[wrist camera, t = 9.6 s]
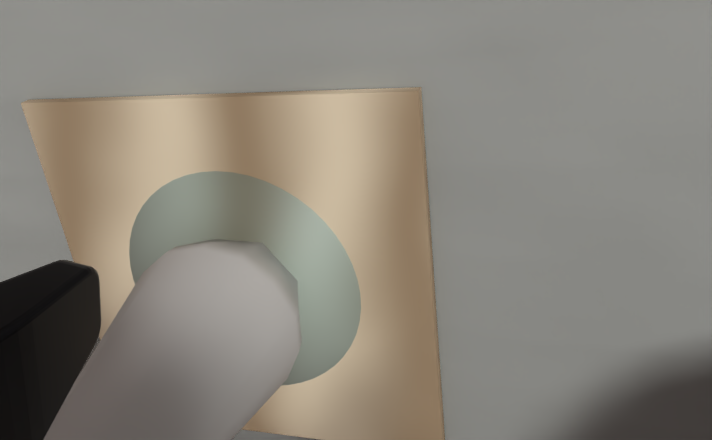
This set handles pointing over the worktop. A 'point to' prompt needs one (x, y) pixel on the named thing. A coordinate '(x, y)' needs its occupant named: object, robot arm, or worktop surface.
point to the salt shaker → (189, 349)
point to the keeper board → (273, 230)
